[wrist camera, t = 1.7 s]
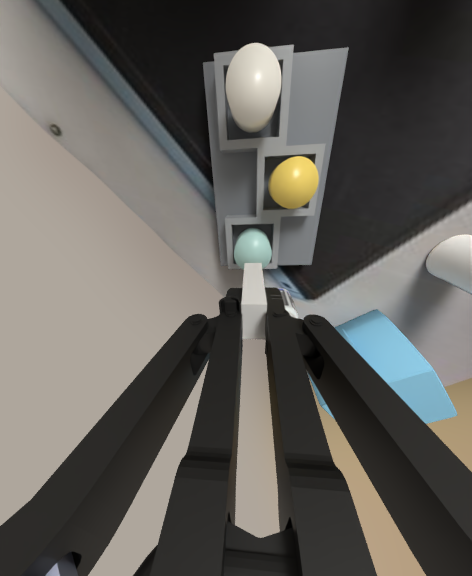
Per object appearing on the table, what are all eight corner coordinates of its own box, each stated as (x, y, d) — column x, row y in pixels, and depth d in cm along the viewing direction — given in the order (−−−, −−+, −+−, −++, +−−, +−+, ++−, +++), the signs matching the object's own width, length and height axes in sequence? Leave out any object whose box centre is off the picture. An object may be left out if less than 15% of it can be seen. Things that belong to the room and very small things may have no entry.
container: (368, 290, 33) (447, 363, 20) (413, 365, 42) (489, 452, 28) (286, 332, 39) (304, 409, 26) (339, 390, 48) (374, 471, 34)
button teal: (235, 228, 24) (232, 235, 21) (269, 227, 24) (272, 235, 20) (236, 260, 26) (234, 271, 23) (268, 259, 26) (270, 271, 22)
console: (208, 77, 21) (196, 46, 16) (335, 65, 20) (362, 28, 15) (223, 259, 32) (218, 272, 27) (306, 257, 31) (316, 271, 26)
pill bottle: (261, 303, 36) (264, 334, 29) (272, 283, 34) (277, 311, 26) (284, 311, 36) (292, 342, 29) (295, 291, 34) (307, 321, 27)
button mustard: (269, 162, 20) (272, 157, 17) (310, 159, 20) (322, 154, 16) (267, 205, 22) (270, 209, 19) (304, 204, 22) (314, 208, 19)
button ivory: (229, 73, 17) (223, 46, 14) (277, 69, 17) (283, 39, 13) (231, 134, 19) (227, 123, 16) (274, 131, 19) (279, 119, 16)
